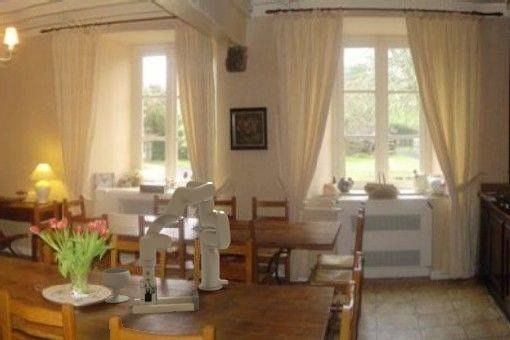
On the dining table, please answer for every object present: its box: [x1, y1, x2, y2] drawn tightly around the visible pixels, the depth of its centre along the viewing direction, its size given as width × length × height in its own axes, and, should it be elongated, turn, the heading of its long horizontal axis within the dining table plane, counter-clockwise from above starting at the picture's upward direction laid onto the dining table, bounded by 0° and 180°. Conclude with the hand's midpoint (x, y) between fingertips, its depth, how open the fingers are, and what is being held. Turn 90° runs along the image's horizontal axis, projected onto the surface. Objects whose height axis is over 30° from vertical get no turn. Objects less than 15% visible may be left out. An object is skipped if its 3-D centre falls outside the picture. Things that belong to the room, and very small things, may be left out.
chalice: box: [101, 267, 132, 304], centre depth 277 cm, size 14×14×15 cm
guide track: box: [132, 289, 200, 315], centre depth 266 cm, size 30×13×6 cm, turn 100°
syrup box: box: [139, 277, 158, 306], centre depth 264 cm, size 6×6×14 cm
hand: (148, 298), depth 264 cm, fingers closed on syrup box, 7 cm apart
